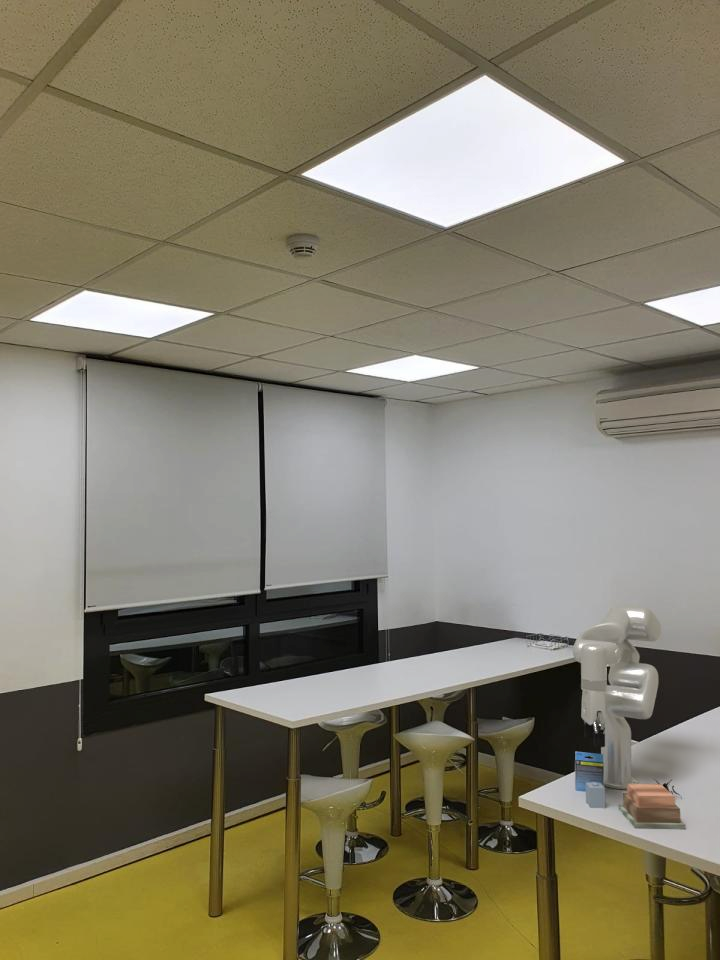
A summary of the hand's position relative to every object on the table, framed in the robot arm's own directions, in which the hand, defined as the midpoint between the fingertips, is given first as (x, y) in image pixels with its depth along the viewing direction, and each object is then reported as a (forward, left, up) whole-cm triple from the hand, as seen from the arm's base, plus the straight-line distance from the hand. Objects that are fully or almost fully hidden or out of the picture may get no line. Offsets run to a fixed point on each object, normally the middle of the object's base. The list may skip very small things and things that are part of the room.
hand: (594, 742), depth 223 cm
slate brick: (0, 0, -19) cm, 19 cm away
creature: (-8, +25, -19) cm, 33 cm away
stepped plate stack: (+10, +13, -19) cm, 25 cm away
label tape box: (-13, +2, -19) cm, 23 cm away
